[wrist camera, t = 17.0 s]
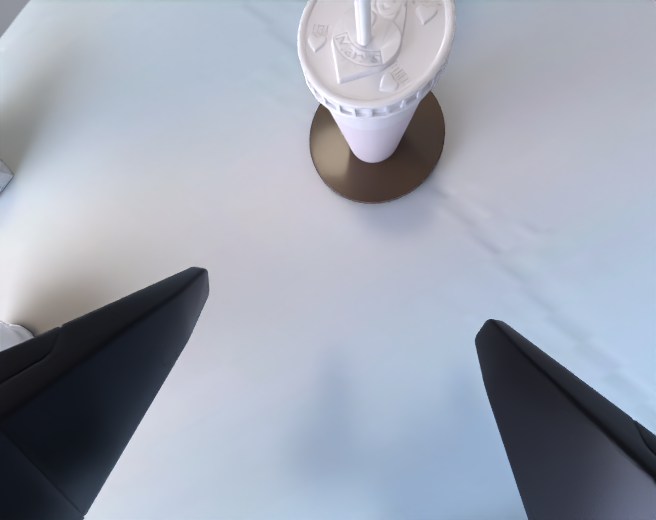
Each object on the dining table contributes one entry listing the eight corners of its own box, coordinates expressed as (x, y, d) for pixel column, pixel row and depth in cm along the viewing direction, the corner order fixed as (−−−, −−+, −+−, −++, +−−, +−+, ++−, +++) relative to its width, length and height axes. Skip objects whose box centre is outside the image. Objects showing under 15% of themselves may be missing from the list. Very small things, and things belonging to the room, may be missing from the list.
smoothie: (315, 152, 21) (203, -55, 7) (363, 79, 21) (338, -293, 7) (384, 197, 20) (404, 56, 6) (437, 122, 20) (582, -210, 6)
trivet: (449, 195, 20) (451, 193, 19) (316, 211, 22) (314, 209, 21) (436, 61, 20) (438, 55, 20) (306, 87, 22) (304, 83, 21)
